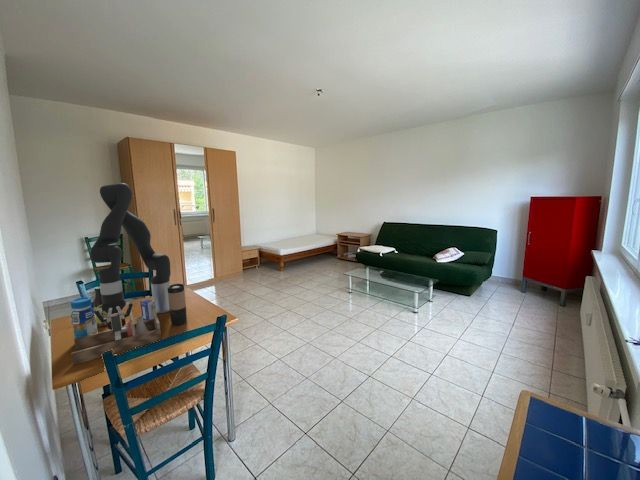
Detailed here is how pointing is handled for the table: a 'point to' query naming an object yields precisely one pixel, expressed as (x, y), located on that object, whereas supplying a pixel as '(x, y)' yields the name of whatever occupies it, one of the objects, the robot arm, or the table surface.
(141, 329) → the flask
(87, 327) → the blue-lidded jar
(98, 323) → the sauce bottle
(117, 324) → the kicker
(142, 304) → the walkman
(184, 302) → the travel mug
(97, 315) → the robot arm
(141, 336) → the brown wooden open box
